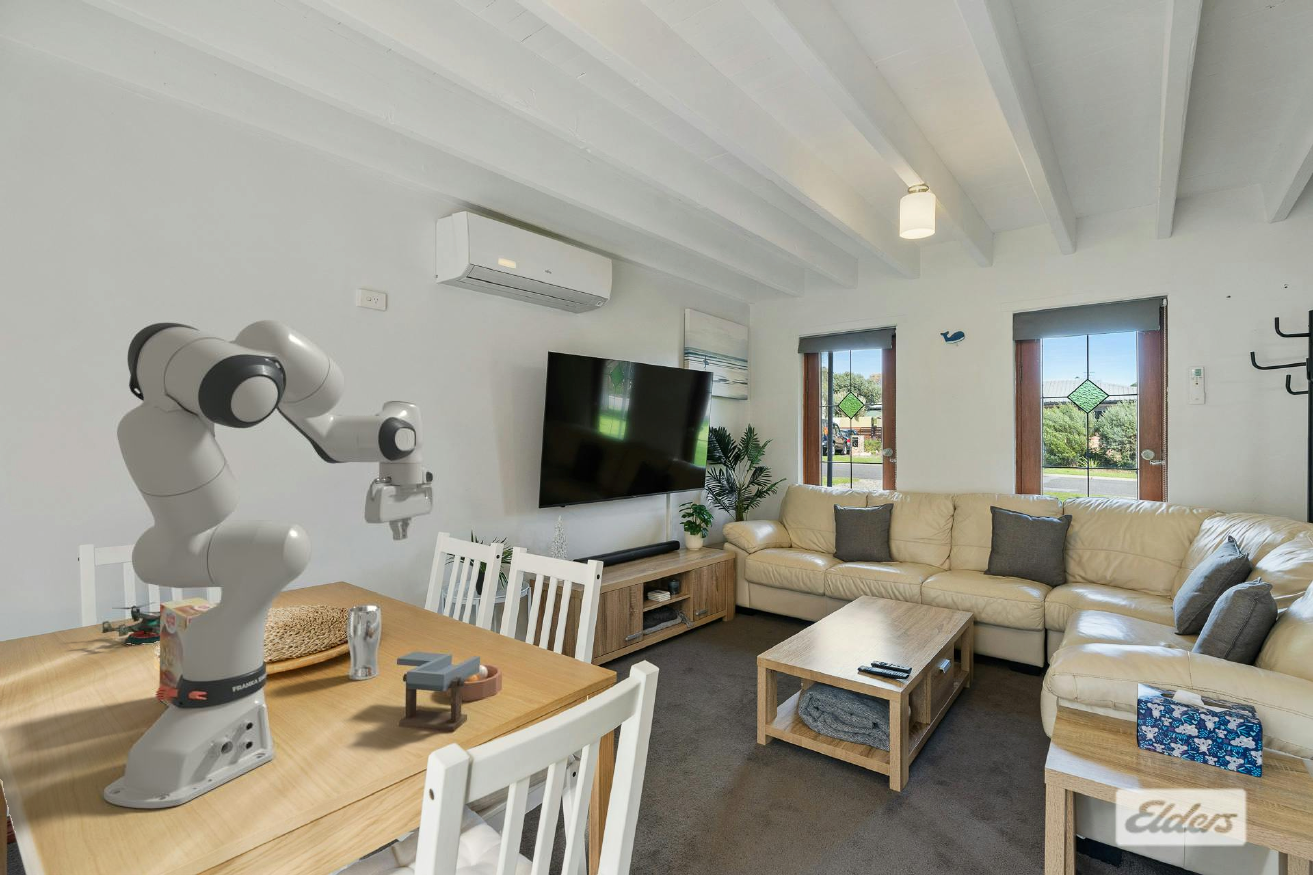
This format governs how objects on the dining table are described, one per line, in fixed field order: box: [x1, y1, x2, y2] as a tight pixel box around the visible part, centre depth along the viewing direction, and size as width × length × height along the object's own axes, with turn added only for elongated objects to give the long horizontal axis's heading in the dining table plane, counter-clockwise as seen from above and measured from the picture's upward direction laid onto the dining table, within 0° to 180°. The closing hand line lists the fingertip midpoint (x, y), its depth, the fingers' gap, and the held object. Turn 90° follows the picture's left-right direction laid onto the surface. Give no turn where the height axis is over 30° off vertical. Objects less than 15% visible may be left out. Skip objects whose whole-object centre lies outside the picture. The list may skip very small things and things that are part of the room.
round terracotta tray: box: [446, 662, 503, 702], centre depth 130 cm, size 11×11×4 cm
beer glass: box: [346, 604, 382, 681], centre depth 138 cm, size 7×7×15 cm
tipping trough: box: [396, 651, 481, 693], centre depth 119 cm, size 14×15×3 cm
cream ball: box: [475, 665, 488, 681], centre depth 132 cm, size 4×4×4 cm
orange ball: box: [465, 674, 478, 682], centre depth 128 cm, size 4×4×4 cm
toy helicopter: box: [101, 601, 160, 644], centre depth 161 cm, size 20×15×8 cm
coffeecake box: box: [158, 596, 218, 708], centre depth 123 cm, size 15×7×20 cm, turn 53°
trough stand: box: [398, 673, 468, 733], centre depth 115 cm, size 5×12×9 cm, turn 79°
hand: (400, 539), depth 134 cm, fingers closed
